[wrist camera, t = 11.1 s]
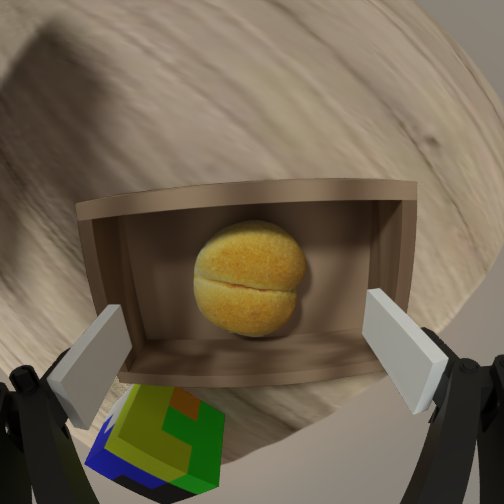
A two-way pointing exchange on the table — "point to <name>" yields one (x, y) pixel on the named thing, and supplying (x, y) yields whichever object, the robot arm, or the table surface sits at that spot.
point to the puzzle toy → (160, 444)
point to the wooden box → (308, 290)
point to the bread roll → (249, 278)
